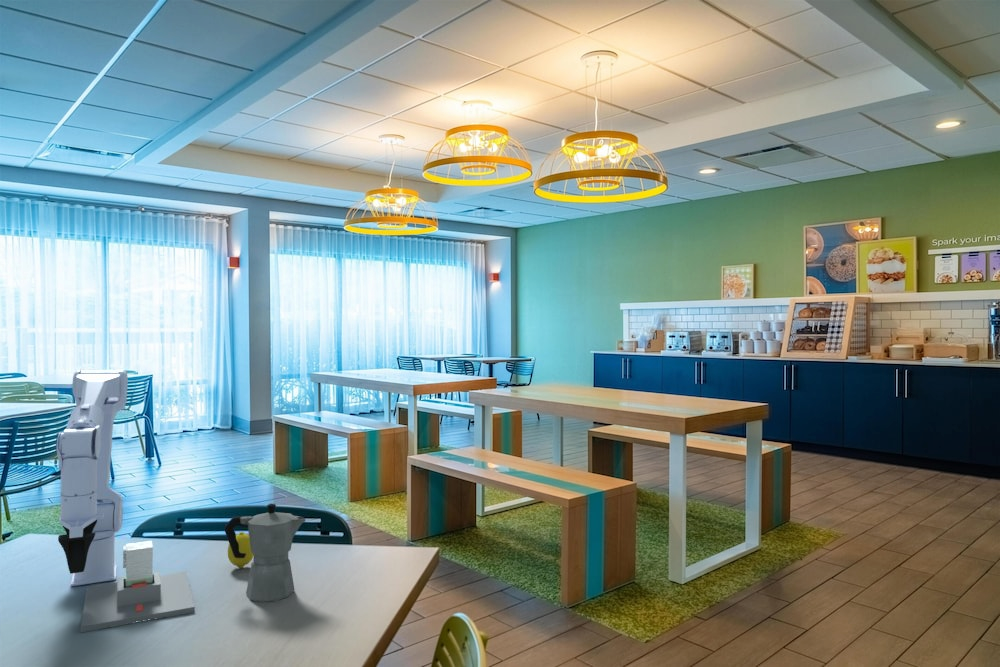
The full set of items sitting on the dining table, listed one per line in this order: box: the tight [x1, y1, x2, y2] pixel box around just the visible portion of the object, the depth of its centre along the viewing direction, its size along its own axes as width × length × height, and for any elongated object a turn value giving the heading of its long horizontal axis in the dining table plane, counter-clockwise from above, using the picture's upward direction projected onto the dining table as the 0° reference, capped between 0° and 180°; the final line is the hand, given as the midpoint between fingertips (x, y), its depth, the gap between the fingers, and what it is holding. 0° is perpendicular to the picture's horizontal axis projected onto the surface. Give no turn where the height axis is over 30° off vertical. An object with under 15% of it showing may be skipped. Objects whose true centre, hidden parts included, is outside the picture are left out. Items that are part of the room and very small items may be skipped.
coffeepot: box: [223, 503, 307, 603], centre depth 134 cm, size 15×9×18 cm, turn 101°
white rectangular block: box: [122, 540, 154, 587], centre depth 129 cm, size 5×5×7 cm
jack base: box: [80, 571, 196, 633], centre depth 129 cm, size 20×18×4 cm
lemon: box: [227, 531, 254, 569], centre depth 147 cm, size 6×6×8 cm
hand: (78, 565), depth 124 cm, fingers open, 7 cm apart
